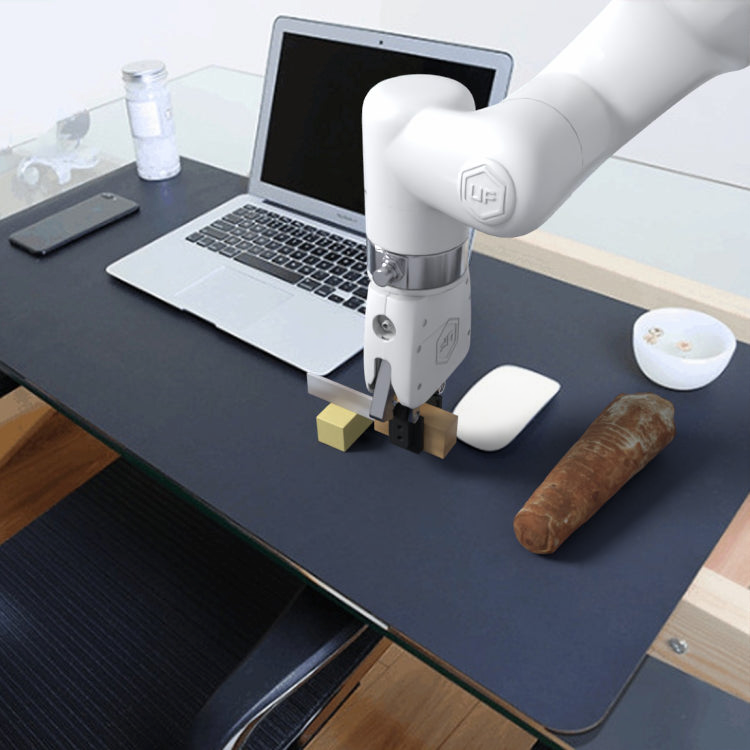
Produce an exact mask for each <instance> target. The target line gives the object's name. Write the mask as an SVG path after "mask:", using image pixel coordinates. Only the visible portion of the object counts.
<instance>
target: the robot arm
mask: <svg viewBox="0 0 750 750" xmlns="http://www.w3.org/2000/svg"><path fill="white" fill-rule="evenodd" d="M747 67H750V0H610V2H609V3H608V4H607V5H606V6H605V7H604V8H603V9H602V10H601V12H599V14H598V15H597V16H596V17H595V18H594V19H593V20H592V21H591V22H590V23H589V24H588V25H587V26H585V28H584V29H583V30H582V31H581V32H580V33H579V34H578V35H577V36H576V37H575V38H574V39H573V40H572V41H571V42H570V43H568V44H567V46H566V47H565V48H564V49H563V50H562V51H561V52H560V53H559V54H558V55H557V56H556V57H555V58H553V60H551V62H549V64H547V65H546V66H545V67H544V68H543V69H541V71H540V72H539V73H538V74H536V75H535V77H533V78H532V79H530V80H529V81H528V82H526V83H524V85H522V86H521V87H519V88H518V89H516V90H515V91H513V92H512V93H511V94H509V95H508V96H506V97H505V98H504V99H502V100H501V101H499V102H498V103H496V104H493V105H490V106H486V107H484V108H481V109H477V110H476V103H475V100H474V97H473V94H472V93H471V91H470V90H469V89H468V87H466V86H465V85H464V84H462V83H461V82H459V81H457V80H455V79H452V78H450V77H445V76H441V75H436V74H424V73H423V74H422V73H421V74H420V73H418V74H417V73H416V74H404V75H398V76H395V77H391V78H387V79H384V80H381V81H380V82H378V83H377V84H375V85H374V86H373V87H371V88H370V89H369V91H368V92H367V94H366V96H365V98H364V100H363V102H362V103H363V104H362V108H361V109H362V113H361V125H362V126H361V128H362V156H363V157H362V158H363V160H362V162H363V188H364V190H363V191H364V216H365V217H364V218H365V247H366V248H365V249H366V251H365V252H366V273H367V276H368V278H369V280H370V281H369V283H368V289H367V297H366V304H365V313H364V314H365V315H364V327H363V328H364V330H363V331H364V332H363V371H364V380H365V385H366V389H367V390H368V393H370V394H373V395H372V397H373V399H372V403H371V408H370V412H369V417H370V418H373V419H375V420H378V421H380V422H383V423H384V422H387V421H388V424H389V436H388V441H389V443H390V444H392V445H394V446H396V447H398V448H401V449H403V450H406V451H408V452H410V453H414V454H416V455H420V454H421V453H422V452H424V451H423V447H424V417H423V416H421V415H420V406H421V405H422V404H424V403H427V404H429V405H432V406H434V407H437V408H440V409H442V410H443V395H441V394H442V393H443V392H444V390H445V388H446V382H447V381H446V380H448V378H449V377H450V376H451V375H452V374H453V373H454V372H455V371H456V369H457V368H458V367H459V366H460V364H461V363H462V362H463V361H464V359H466V356H467V355H468V353H469V351H470V348H471V336H472V335H471V334H472V289H471V288H472V287H471V275H470V267H469V261H468V259H469V244H470V242H469V241H470V228H471V229H472V230H475V231H478V232H480V233H483V234H485V235H488V236H492V237H496V238H500V239H501V238H504V239H512V238H519V237H524V236H526V235H528V234H530V233H532V232H534V231H536V230H537V229H539V228H540V227H542V226H543V225H544V224H545V223H546V222H548V220H549V219H550V218H552V217H553V216H554V214H555V213H556V212H558V210H559V209H560V208H561V207H562V206H563V205H564V204H565V203H566V202H567V201H568V200H569V198H571V197H572V195H573V193H575V191H577V189H578V188H580V187H581V186H582V184H583V183H584V182H585V181H586V180H588V179H589V177H591V175H593V174H594V173H595V172H596V171H597V170H598V169H599V168H600V167H601V166H602V165H604V163H606V162H607V161H608V160H609V159H610V158H611V157H613V155H615V154H616V153H617V152H618V151H619V150H620V149H622V148H623V147H624V146H625V145H626V144H628V143H629V142H630V141H632V140H633V139H634V138H635V137H637V136H638V135H639V134H640V133H641V132H642V131H644V130H645V129H646V128H647V127H649V126H650V125H651V124H652V123H653V122H655V121H656V120H657V119H659V117H661V116H662V115H663V114H664V113H666V112H668V110H670V109H671V108H672V107H674V106H675V105H677V103H679V102H680V101H681V100H683V99H684V98H686V97H687V96H688V95H690V94H691V93H693V92H694V91H695V90H696V89H698V88H699V87H701V86H702V85H704V84H705V83H707V82H709V81H710V80H712V79H714V78H715V77H718V76H721V75H724V74H727V73H731V72H737V71H742V70H745V69H746V68H747ZM397 397H398V400H399V401H400V402H397Z"/></svg>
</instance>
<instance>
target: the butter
mask: <svg viewBox="0 0 750 750" xmlns="http://www.w3.org/2000/svg"><path fill="white" fill-rule="evenodd" d="M315 418H316V427H317V429H316V430H317V438H318V442H320V443H323V444H325V445H328V446H330V447H331V448H334V449H337V450H339V451H342V452H344V453H346V451H347V450H348V449H349V448H350V447H351V446H352V445H353V444H354V443H355V442H356V441H357V440H358V438H360V436H361V435H363V434H364V432H365V431H366V430H367V429H368V428H370V426H371V425H372V424H373V423H374V421H373V420H371V419H369V418H366V417H364V416H362V415H359V414H357V413H354V412H352V411H350V410H347V409H345V408H343V407H340V406H338V405H335V404H333V403H331V402H329V404H328V405H327V406H326V407H325V408H324V409H322V411H321V412H320V413H319V414H318V415H317V416H316V417H315Z"/></svg>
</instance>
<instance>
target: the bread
mask: <svg viewBox="0 0 750 750" xmlns="http://www.w3.org/2000/svg"><path fill="white" fill-rule="evenodd" d="M675 411H676V408H675V404H674V403H673V402H672V401H670V400H668V399H667V398H666V397H662V396H660V395H658V394H655V393H654V392H651V391H646V392H635V393H633V394H632V393H625V392H621V393H619V394H617V395H616V396H615V397H614V399H612V401H610V402H609V403H608V404H607V406H605V408H604V409H603V410H602V411H601V412H600V414H599V415H597V417H596V418H595V419H594V420H593V421H592V423H591V424H590V425H588V427H587V429H586V430H585V432H584V433H583V434H582V435H581V436H580V438H578V440H577V441H576V442H575V443H574V444H573V445H572V446H570V448H569V450H568V451H567V452H566V453H565V454H564V456H562V458H561V459H560V460H559V461H558V462H557V464H556V465H555V466H554V467H553V468H552V470H551V471H550V472H549V473H548V475H547V476H546V477H545V478H544V480H543V481H542V483H540V484H539V486H538V487H537V488H536V489H535V490H534V492H533V493H532V495H531V496H530V497H529V498H528V500H527V501H526V502H525V503H524V505H523V506H522V508H521V509H520V510H519V511H518V512H517V513H516V514H515V516H514V518H513V523H512V526H513V530H514V534H515V537H516V539H517V541H518V542H519V544H520V545H521V546H522V547H524V549H525V550H527V551H528V552H530V553H532V554H538V555H550V554H551V555H552V554H553V553H555V552H556V551H557V550H558V548H559V547H560V546H561V545H562V544H563V543H564V542H565V541H566V540H567V539H568V538H569V537H570V536H571V535H572V534H573V533H574V532H575V531H577V530H578V529H579V528H580V527H582V525H583V524H585V523H587V522H588V521H589V520H591V518H592V517H593V516H594V515H595V514H596V513H597V512H598V511H599V510H600V509H601V508H602V507H603V506H604V505H605V504H606V503H607V502H608V501H609V500H610V499H611V498H612V497H614V496H615V494H616V493H618V492H619V491H620V490H621V488H622V487H624V485H626V483H628V481H630V480H631V479H632V478H633V477H634V476H635V475H636V474H637V473H639V472H640V471H642V470H643V469H644V468H645V467H646V466H647V464H649V462H651V461H652V460H653V459H654V458H655V457H656V456H658V454H660V453H661V452H662V451H663V450H664V449H665V448H666V447H668V445H669V444H670V443H671V442H672V441H673V440H674V439H675V438H676V435H677V426H676V425H677V424H676V422H675V418H674V416H675Z"/></svg>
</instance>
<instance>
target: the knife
mask: <svg viewBox="0 0 750 750" xmlns="http://www.w3.org/2000/svg"><path fill="white" fill-rule="evenodd" d="M306 380H307V393H308V394H309V395H312V396H314V397H317V398H319V399H321V400H324V401H326V402H328V403H333V404H335V405H338V406H340V407H343V408H345V409H347V410H350V411H352V412H354V413H357V414H359V415H362V416H364V417H366V418H369V419H371V420H373V423H374V430H375V431H376V432H378V433H381V434H383V435H386V436H388V437H389V424H388V421H387V422H384V423H383V422H380V421H378V420H375V419H373V418H370V417H369V412H370V408H371V403H372V399H373V396H371V395H368V394H367V393H365V392H364V393H363V392H361V391H358V390H356V389H354V388H352V387H350V386H346V385H344V384H341V383H339V382H336V381H334V380H332V379H329V378H327V377H324V376H322V375H319V374H317V373H314V372H312V371H308V372H307V373H306ZM397 402H400V401H399V400H398V397H397ZM420 415H421V416H423V417H424V447H423V451H422V452H426V453H428V454H430V455H433V456H435V457H438V458H440V459H443V460H444V459H445V458H446V456H447V455H448V454H449V452H450V451H451V450H452V449H453V447H454V446H455V445H456V444H457V436H458V426H459V415H458V414H456V413H453V412H450V411H448V410H444V409H443V408H442V409H440V408H437V407H434V406H432V405H429V404H427V403H424V404H422V405H421V406H420Z"/></svg>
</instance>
